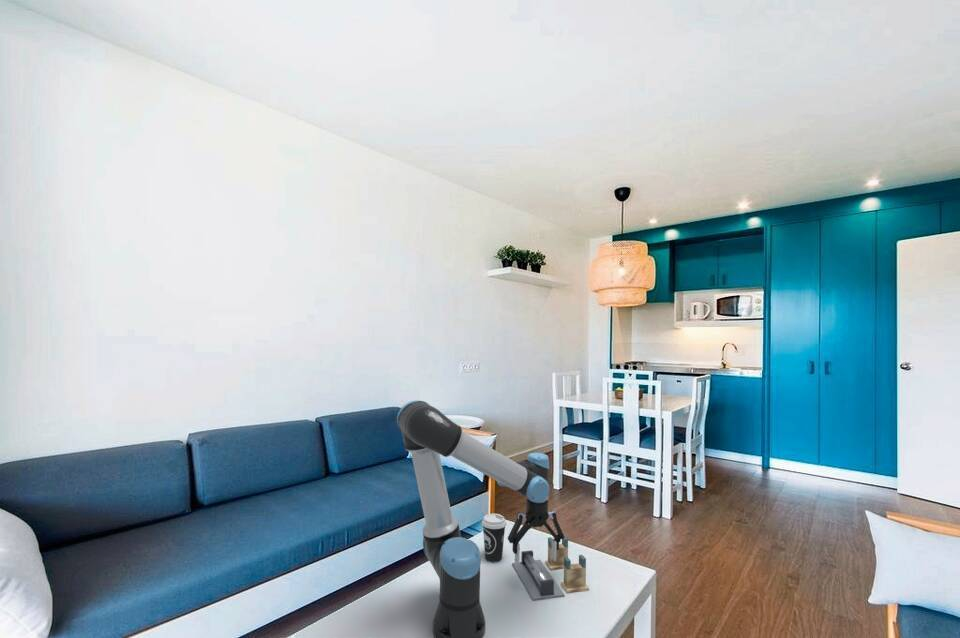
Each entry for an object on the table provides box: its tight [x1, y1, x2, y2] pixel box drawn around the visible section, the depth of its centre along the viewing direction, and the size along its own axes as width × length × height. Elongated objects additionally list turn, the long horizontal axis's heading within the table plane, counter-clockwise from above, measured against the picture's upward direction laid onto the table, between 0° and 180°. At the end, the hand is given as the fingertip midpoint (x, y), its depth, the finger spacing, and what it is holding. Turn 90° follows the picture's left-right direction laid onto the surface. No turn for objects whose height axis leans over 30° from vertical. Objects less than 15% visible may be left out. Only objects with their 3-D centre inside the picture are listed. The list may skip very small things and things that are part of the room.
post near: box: [560, 554, 590, 594], centre depth 144 cm, size 8×5×10 cm, turn 103°
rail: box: [520, 550, 554, 596], centre depth 148 cm, size 20×4×4 cm, turn 13°
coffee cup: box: [481, 513, 507, 563], centre depth 162 cm, size 10×10×15 cm
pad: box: [511, 559, 566, 602], centre depth 148 cm, size 11×22×1 cm, turn 13°
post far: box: [544, 535, 569, 571], centre depth 157 cm, size 8×5×10 cm, turn 103°
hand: (535, 560), depth 148 cm, fingers open, 13 cm apart
